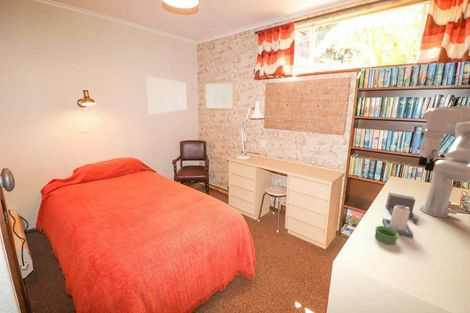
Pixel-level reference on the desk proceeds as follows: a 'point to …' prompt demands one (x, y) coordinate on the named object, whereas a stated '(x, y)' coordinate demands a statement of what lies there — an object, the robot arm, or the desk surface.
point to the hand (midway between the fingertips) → (425, 168)
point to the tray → (404, 233)
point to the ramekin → (386, 235)
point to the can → (400, 217)
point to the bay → (403, 200)
